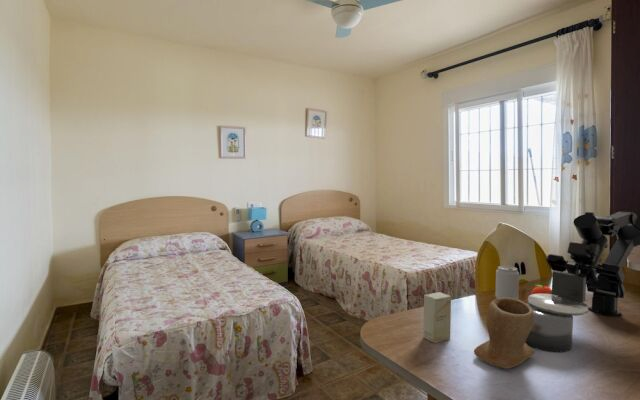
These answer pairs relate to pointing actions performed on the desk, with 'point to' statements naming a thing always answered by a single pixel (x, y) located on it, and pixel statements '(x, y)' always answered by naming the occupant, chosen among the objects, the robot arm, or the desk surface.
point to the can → (507, 282)
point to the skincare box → (437, 317)
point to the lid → (563, 295)
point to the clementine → (541, 290)
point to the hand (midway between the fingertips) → (572, 290)
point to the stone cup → (507, 333)
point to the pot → (550, 331)
